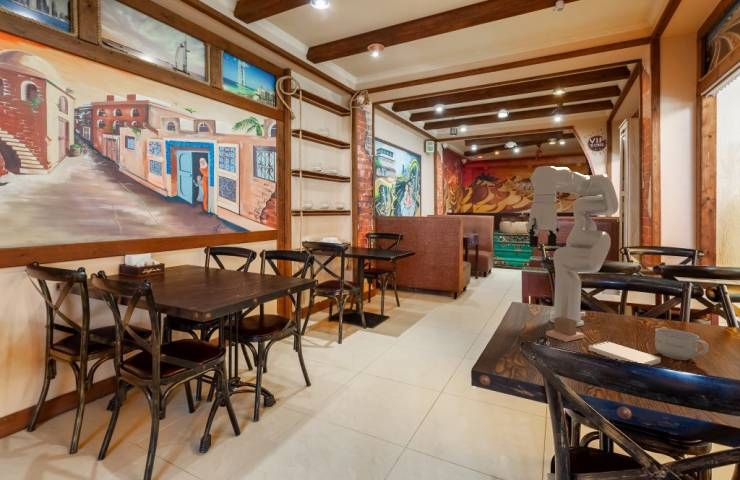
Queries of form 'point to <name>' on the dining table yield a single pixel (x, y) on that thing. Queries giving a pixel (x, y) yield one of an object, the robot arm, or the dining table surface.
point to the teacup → (678, 344)
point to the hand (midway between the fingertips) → (542, 246)
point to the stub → (565, 330)
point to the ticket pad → (623, 353)
